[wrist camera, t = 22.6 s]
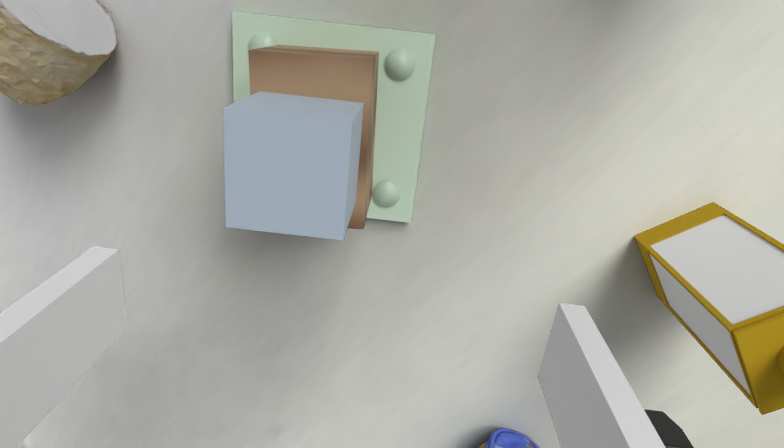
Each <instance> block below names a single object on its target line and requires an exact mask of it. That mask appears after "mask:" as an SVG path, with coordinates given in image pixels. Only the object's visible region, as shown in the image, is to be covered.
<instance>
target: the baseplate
mask: <svg viewBox="0 0 784 448" xmlns="http://www.w3.org/2000/svg"><path fill="white" fill-rule="evenodd" d="M232 36H233V103H235V102H237V101H240V100H242V99H244V98H246V97H248V96H250V77H249V54H248V50H252V49H258V48H264V47H269V46H275V45H289V46H304V47H319V48H333V49H348V50H363V51H377V52H379V63H378V83H377V103H376V123H375V143H374V163H373V183H372V196H371V200H370V205H369V209H368V213H367V217H366V218H372V219H381V220H390V221H399V222H407V223H411V221H412V214H413V206H414V198H415V190H416V183H417V175H418V167H419V159H420V152H421V144H422V136H423V128H424V121H425V113H426V105H427V98H428V90H429V82H430V74H431V67H432V59H433V51H434V43H435V36H436V34H430V33H421V32H412V31H403V30H395V29H386V28H377V27H368V26H359V25H351V24H342V23H333V22H324V21H315V20H307V19H298V18H289V17H280V16H271V15H262V14H254V13H245V12H235V11H232Z"/></svg>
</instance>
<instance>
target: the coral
mask: <svg viewBox="0 0 784 448" xmlns="http://www.w3.org/2000/svg"><path fill="white" fill-rule="evenodd" d="M117 42H118V40H117V37H116V30H115V28H114V24H113V21H112V19H111V15H110V12H109V11H108V10H107V9H105V8H104V7H103V6H102V5H101V4H100V3H99V1H98V0H0V91H1V92H2V93H3V94H5V95H6V96H8V97H10V98H12V99H14V100H16V101H17V102H18V103H19V104H26V105H35V104H46V103H48V102H51V101H54V100H57V99H59V98H61V97H64V96H66V95H68V94H70V93H72V92H73V91H75V90H77V89H79V88H80V87H81V86H82V85H83V84H84V82H86V81H87V79H88V78H90V77H92V76H94V74H95V73H96V72H97V70H98V69H99V67H100V66H101V65H102V64H103V63H104V62H105V61H106V60H107V59H108V58H109V57H110V55H111V54H112V52H113V51H114V49H115V47H116V44H117Z"/></svg>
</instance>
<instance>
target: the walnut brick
mask: <svg viewBox="0 0 784 448" xmlns="http://www.w3.org/2000/svg"><path fill="white" fill-rule="evenodd" d="M248 54H249V77H250V95H253V94H255V93H257V92H259V91H262V92H271V93H280V94H289V95H298V96H307V97H316V98H325V99H333V100H342V101H351V102H360V103H364V108H363V121H362V133H361V145H360V157H359V170H358V182H357V194H356V202H355V206H354V209H353V212H352V215H351V218H350V221H349V224H348V227H347V228H353V229H364V225H365V221H366V217H367V213H368V209H369V205H370V200H371V196H372V183H373V163H374V143H375V123H376V103H377V83H378V63H379V52H377V51H363V50H348V49H333V48H319V47H304V46H289V45H275V46H269V47H264V48H258V49H252V50H248Z"/></svg>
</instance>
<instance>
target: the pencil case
mask: <svg viewBox="0 0 784 448" xmlns="http://www.w3.org/2000/svg"><path fill="white" fill-rule="evenodd" d="M478 448H539V447H538V446H537V444H535V443H534V442H533V441H532V440H530V439H529V438H528V437H527V436H525V435H524V434H521V433H518V432H516V431H512V430H509V429H505V428H501V429H498V430H496V431H494V432H493V433H492V434H491V435H490V437H489V439H488V441H487V442H485V443H484V444H482V445H481V446H480V447H478Z"/></svg>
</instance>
